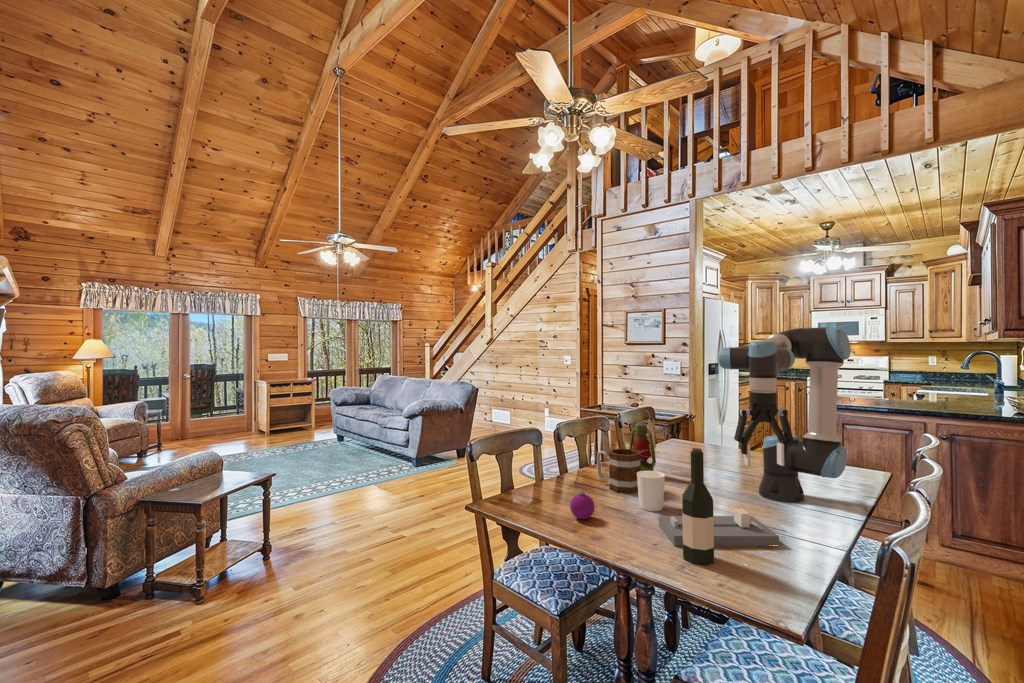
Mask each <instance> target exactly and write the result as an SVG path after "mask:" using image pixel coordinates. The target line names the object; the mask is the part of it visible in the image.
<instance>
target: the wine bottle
mask: <svg viewBox="0 0 1024 683" xmlns="http://www.w3.org/2000/svg"><path fill="white" fill-rule="evenodd" d="M704 469H705V468H704V452H703V451H702V448H699V447H693V448H692V449H691V451H690V482H689V484H688V485H687V487H686V489H685V490H683V493H682V496H681V497H682V498H681V499H682V500H681V501H682V516H683V546H682V556H683V557H682V558H683V560H684V561H686V562H688V563H689V564H692V565H696V566H703V567H706V566H709V565H713V564H715V546H714V517H713V516H714V498H713V496H712V494H711V493H710V492H709V490H708V487H707V486H706V485H705V482H704V481H705V480H704V478H705V477H704V476H705V472H704Z"/></svg>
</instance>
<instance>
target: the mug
mask: <svg viewBox="0 0 1024 683" xmlns="http://www.w3.org/2000/svg"><path fill="white" fill-rule="evenodd" d="M601 454H602V455H604V457H605V458H606V459H607V460H609V463H608V464H609V466H608V474H609V475H608V476H604V475H603V473H602V466H601V465H602V463H601ZM640 456H641V451H637V450H634V449H629V448H620V447H619V448H614V449H610V450H608V453H607V452H606V451H605V450H600V451H598V452H597V455H596V462H597V465H596V466H597V470H596V471H597V474H598V477H599V478H600V479H601V480H609V487H608V490H609V491H612V492H614V493H617V494H627V495H633V494H638V483H637V472H639V471H641V464H640Z"/></svg>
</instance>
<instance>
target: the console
mask: <svg viewBox="0 0 1024 683" xmlns="http://www.w3.org/2000/svg"><path fill="white" fill-rule="evenodd" d="M713 517H714V547H756V546H769V545H771V546H772V545H779V546H780V535H778V534H776V533H775V532H774V531H773V530H772V529H770V528H769V527H768V526H766V525H765V524H764V523H762V522H761V521H760V520H758V519H757V518H755V517H754V516H752V515H749V524H750V527H740V526H739V525H738V524H737V523H736V522H735V521H734V515H713ZM658 527H659V528H660V529H661V530H662V532H663V533H664V535H666V537H667V538H668V540H669V541H670V543H671V544H672V546H674V547H683V515H659V516H658Z"/></svg>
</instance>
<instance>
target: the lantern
mask: <svg viewBox="0 0 1024 683" xmlns="http://www.w3.org/2000/svg"><path fill="white" fill-rule="evenodd" d="M636 411H646V412H647V413H648V417H649V418H648V420H649V422H648V423H649V427H650V429H651V431H650V430H649V429H648V423H646V422H644V421H643V420H640V419H644V417H641V416H640V417H639V418H638V420H639V421H638V422H636V423H635V428H632V427H633V426H634V421H635V420H634V416H635V415H634V414H635V412H636ZM630 429H631V431H630V440H629V447H628V449H634V450H637V451H641V456H640V464H641V471H654V467H655V466H656V463H657V460H656V452H655V446H654V438H653V434H652V433H653V432H654V430H653V428H652V425H651V415H650V411H649V410H647V409H646V408H641V407H640V408H639V407H638V408H636V409H634V410H633V412H632V424H631V425H630ZM635 433H636V437H635ZM647 434H648V436H647ZM634 437H635V439H634ZM648 438H649V439H648ZM649 459H651V460H652V462H651V463H649V462H648V460H649Z"/></svg>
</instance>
